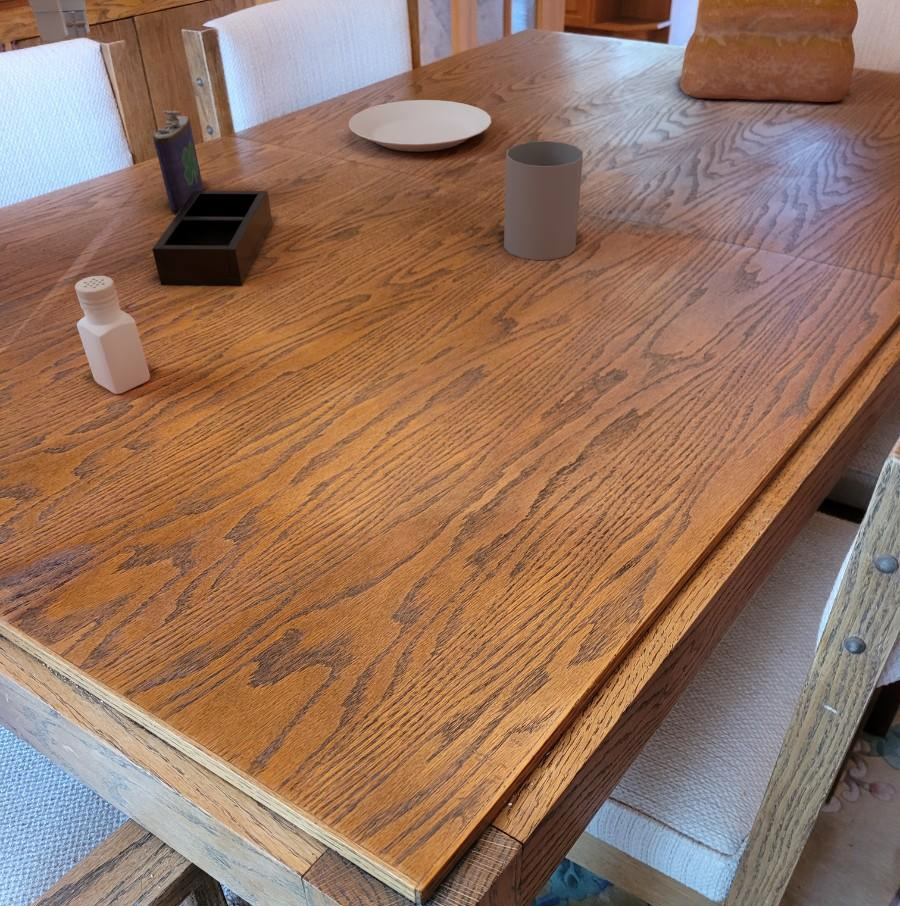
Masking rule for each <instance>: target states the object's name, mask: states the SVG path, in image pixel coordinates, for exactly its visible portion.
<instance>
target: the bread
mask: <svg viewBox="0 0 900 906" xmlns="http://www.w3.org/2000/svg"><path fill="white" fill-rule="evenodd" d="M698 7H699V8H698V11H697V25H696V29H695V30H694V31H693V33H692V34H691V36H690V38H689V40H688V42H687V45H686V47H685V51H684V56H683V63H682V68H681V75H680V83H679V85H680V90H681V91H682V92H683V93H684V94H685V95H687V96H690V97H692V98H695V99H717V100H732V99H733V100H734V99H735V100H751V101H769V100H770V101H775V100H777V101H790V102H791V101H792V102H818V103H833V102H839V101H843V100H844V99H845V97H846V95H847V94H848V92H849V89H850V86H851V82H852V78H853V73H854V66H855V61H856V53H855V47H854V40H853V33H854V31H855V29H856V26H857V23H858V19H859V9H858V4H857V1H856V0H701V2H700V4H699V6H698Z"/></svg>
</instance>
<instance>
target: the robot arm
mask: <svg viewBox="0 0 900 906" xmlns="http://www.w3.org/2000/svg"><path fill="white" fill-rule="evenodd" d="M27 1H28V4H29V6H30V8H31V11H32V13H33V15H34V19H35V20H34V21H35V24H36V27H37V31H38V36H39V37H40V39H41V40H42V41H44V42H47V43H48V42H62V41H65V40H67V39H68V38H82V37H83V38H84V37H85V38H86V37H88V36H89V35H90V33H91V28H90V25H89V20H88V15H87V5H86V0H27Z"/></svg>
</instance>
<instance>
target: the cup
mask: <svg viewBox="0 0 900 906" xmlns="http://www.w3.org/2000/svg"><path fill="white" fill-rule="evenodd" d="M583 159H584V151H583V150H582V149H580V148H579V147H577V145H573V144H569V143H566V142H562V141H551V140H537V141H527V142H523V143H518V144H515V145H513V146H512V147H510V148H508V149H507V150H506V154H505V183H504V184H505V186H504V187H505V188H504V189H505V190H504V196H505V197H504V220H503V222H504V223H503V224H504V227H503V233H504V234H503V248H504V249H505V250H506V251H507V252H508V254H511V255H513V256H515V257H518V258H520V259H525V260H533V261H551V260H552V261H553V260H557V259H561V258H564V257H568V256H569V255H570V254H572V253H573V252H574V251H576V247H577V233H578V223H579V221H578V220H579V210H580V196H581V184H582V172H583Z"/></svg>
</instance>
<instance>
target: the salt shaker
mask: <svg viewBox="0 0 900 906" xmlns="http://www.w3.org/2000/svg"><path fill="white" fill-rule="evenodd" d="M74 289H75V293H76V295H77V299H78V302H79V305H80V308H81V310H82V311H83V313H84V316H83V317H82V318H80V319H79V320H78V322H77V323H76V327H77V330H78V333H79V337H80V340H81V343H82V346H83V350H84V352H85V356H86V359H87V361H88V365H89V368H90V371H91V374H92V377H93V380H94V381H95V382H96V384H98V385H100V386H101V387H102V388H105V389H106V390H108V391H109V392H111V393H113V394H114V395H119V394H123V393H125V392H128V391H130V390H132V389H134V388H136V387H138V386H141V385H142V384H145V383H146V382H148V381H149V380H150V379H151V374H150V370H149V367H148V363H147V358H146V356H145V352H144V348H143V344H142V341H141V338H140V334H139V331H138V326H137V323H136V321H135V318H134V317H132V316H131V315H130V314H129V313H128V312H126V311H124V310H122V309H121V306H120V298H119V295H118V292H117V290H116V289H117V288H116V284H115V281H114V280H113V278H111V277H109V276H106V275H92V276H88V277H84V278H82V279H81V280H79V281H77V282H76V284H75V285H74Z"/></svg>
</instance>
